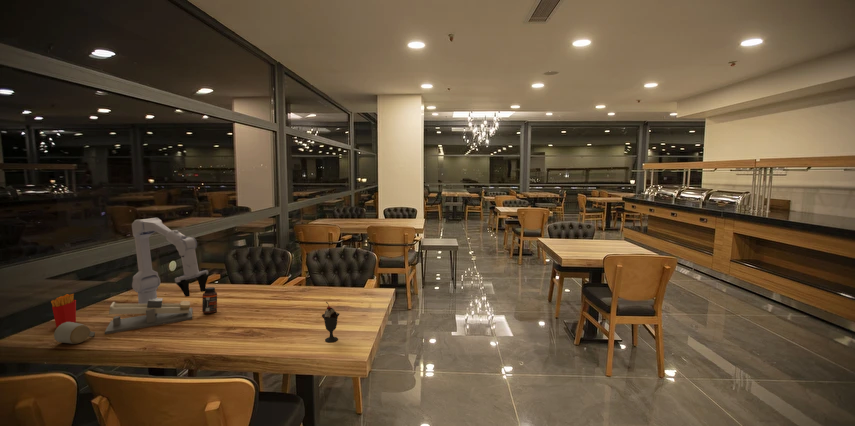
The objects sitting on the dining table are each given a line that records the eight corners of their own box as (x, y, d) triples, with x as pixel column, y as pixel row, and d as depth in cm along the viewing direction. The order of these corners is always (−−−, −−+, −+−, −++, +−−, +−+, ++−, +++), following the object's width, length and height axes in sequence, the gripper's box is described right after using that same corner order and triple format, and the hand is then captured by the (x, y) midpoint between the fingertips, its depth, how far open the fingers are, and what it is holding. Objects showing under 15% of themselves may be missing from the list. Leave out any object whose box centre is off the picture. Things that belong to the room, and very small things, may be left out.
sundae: (324, 336, 148) (323, 299, 147) (341, 335, 149) (340, 299, 147) (320, 343, 142) (319, 305, 140) (338, 343, 142) (337, 305, 141)
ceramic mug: (71, 347, 139) (70, 327, 138) (54, 345, 140) (52, 326, 140) (101, 336, 149) (100, 317, 149) (84, 334, 151) (83, 316, 150)
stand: (111, 322, 162) (110, 308, 162) (192, 309, 178) (191, 296, 177) (104, 334, 150) (103, 318, 150) (192, 319, 166) (191, 305, 166)
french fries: (70, 321, 164) (67, 292, 163) (80, 320, 164) (77, 292, 163) (50, 329, 155) (47, 299, 154) (61, 329, 155) (58, 299, 154)
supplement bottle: (210, 314, 170) (210, 289, 170) (199, 313, 172) (199, 288, 172) (220, 310, 176) (220, 287, 176) (209, 309, 178) (209, 286, 177)
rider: (147, 307, 165) (149, 298, 165) (161, 306, 167) (162, 298, 167) (146, 310, 161) (148, 301, 161) (160, 310, 164) (162, 301, 164)
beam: (111, 310, 159) (113, 300, 159) (188, 309, 174) (189, 300, 174) (108, 315, 153) (110, 305, 153) (188, 314, 168) (189, 305, 168)
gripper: (180, 267, 160) (186, 298, 160) (210, 260, 173) (215, 288, 174) (169, 268, 162) (175, 299, 163) (200, 261, 176) (205, 289, 177)
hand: (195, 293), depth 169 cm, fingers open, 7 cm apart
